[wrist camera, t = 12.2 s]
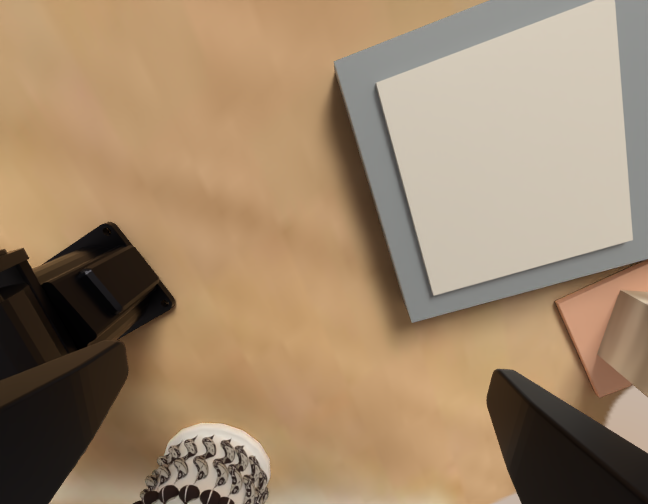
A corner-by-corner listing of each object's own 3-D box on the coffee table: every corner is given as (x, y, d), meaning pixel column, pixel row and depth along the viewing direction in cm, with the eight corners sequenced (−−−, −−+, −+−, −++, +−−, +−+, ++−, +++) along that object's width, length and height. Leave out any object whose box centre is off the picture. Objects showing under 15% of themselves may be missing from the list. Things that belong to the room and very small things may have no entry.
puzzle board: (404, 302, 22) (413, 326, 19) (334, 71, 18) (333, 59, 15) (777, 198, 19) (851, 208, 16) (794, -108, 15) (896, -163, 12)
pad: (595, 393, 23) (599, 397, 23) (554, 301, 21) (558, 304, 21) (723, 343, 22) (730, 347, 22) (692, 238, 20) (698, 241, 20)
